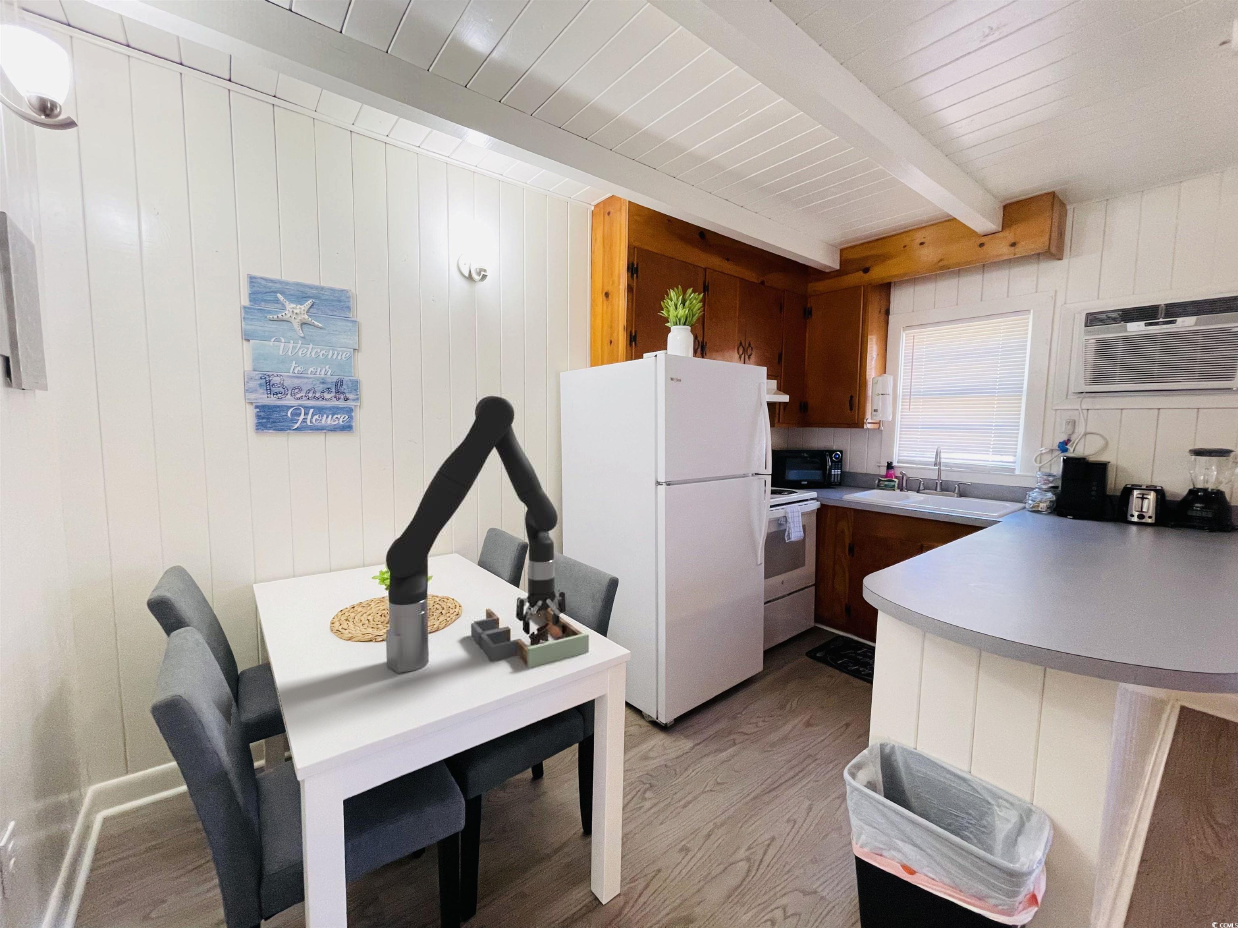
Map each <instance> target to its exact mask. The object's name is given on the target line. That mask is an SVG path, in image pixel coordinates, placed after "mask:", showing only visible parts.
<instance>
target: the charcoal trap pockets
mask: <svg viewBox="0 0 1238 928" xmlns="http://www.w3.org/2000/svg"><path fill="white" fill-rule="evenodd" d="M470 627H471V628H470V632H471V634H470V635H471V639H472V640H473V641H474V642H475V643H476V645H477V646H478V647H479V649H481V651H482V652H483V653H484V654H485V657H486V658H488V660H489V661H490V662H491V663H492V662H497V661H501V660H505V659H511V658H513V657H514V658H515V657H518V641H517V640H516V639H513V640H511V641H508V642H506V629H505V628H504V627H505V626H504V627H499V628H498V629H495V618H494V617H493V618H488V619H486V618H485V619H480V620H474V621H473V622H472V623H470Z"/></svg>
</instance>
